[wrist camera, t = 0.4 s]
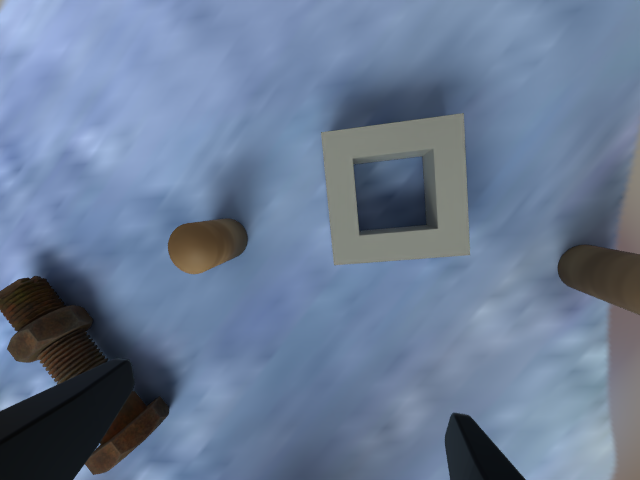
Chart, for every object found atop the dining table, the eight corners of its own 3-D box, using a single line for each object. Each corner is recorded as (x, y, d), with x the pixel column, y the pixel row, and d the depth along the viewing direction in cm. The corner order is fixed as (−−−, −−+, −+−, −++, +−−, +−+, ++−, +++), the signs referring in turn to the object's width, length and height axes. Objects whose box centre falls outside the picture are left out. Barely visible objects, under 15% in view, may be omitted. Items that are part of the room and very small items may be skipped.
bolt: (71, 270, 27) (175, 404, 27) (8, 308, 25) (119, 451, 25) (28, 260, 21) (159, 429, 21) (-56, 307, 19) (86, 491, 19)
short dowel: (249, 256, 22) (219, 272, 18) (212, 259, 23) (172, 275, 18) (244, 216, 22) (212, 220, 17) (206, 220, 23) (164, 225, 18)
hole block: (453, 247, 21) (470, 255, 18) (337, 256, 22) (334, 265, 19) (447, 126, 20) (463, 113, 17) (326, 142, 21) (321, 132, 18)
